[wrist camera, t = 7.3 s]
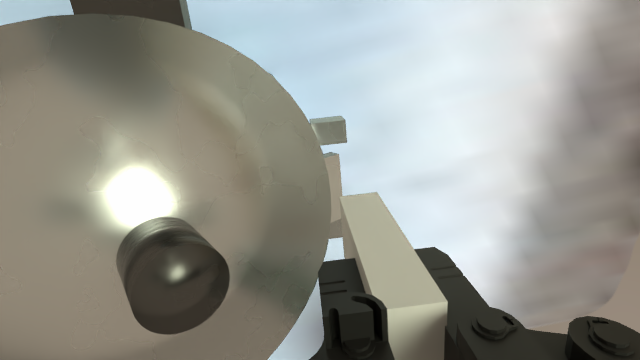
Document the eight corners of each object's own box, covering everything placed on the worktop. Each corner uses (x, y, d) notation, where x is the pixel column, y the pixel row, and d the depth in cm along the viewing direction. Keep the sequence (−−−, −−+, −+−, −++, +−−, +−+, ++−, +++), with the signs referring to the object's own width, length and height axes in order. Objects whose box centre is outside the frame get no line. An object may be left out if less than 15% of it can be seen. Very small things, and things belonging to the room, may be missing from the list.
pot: (59, 18, 23) (-79, -9, 15) (319, -7, 24) (333, -47, 15) (143, 286, 30) (84, 373, 22) (342, 262, 31) (360, 336, 22)
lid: (-437, 20, 6) (-863, -40, 3) (317, 16, 16) (376, -1, 13) (-39, 551, 12) (-70, 704, 9) (343, 308, 21) (389, 342, 18)
